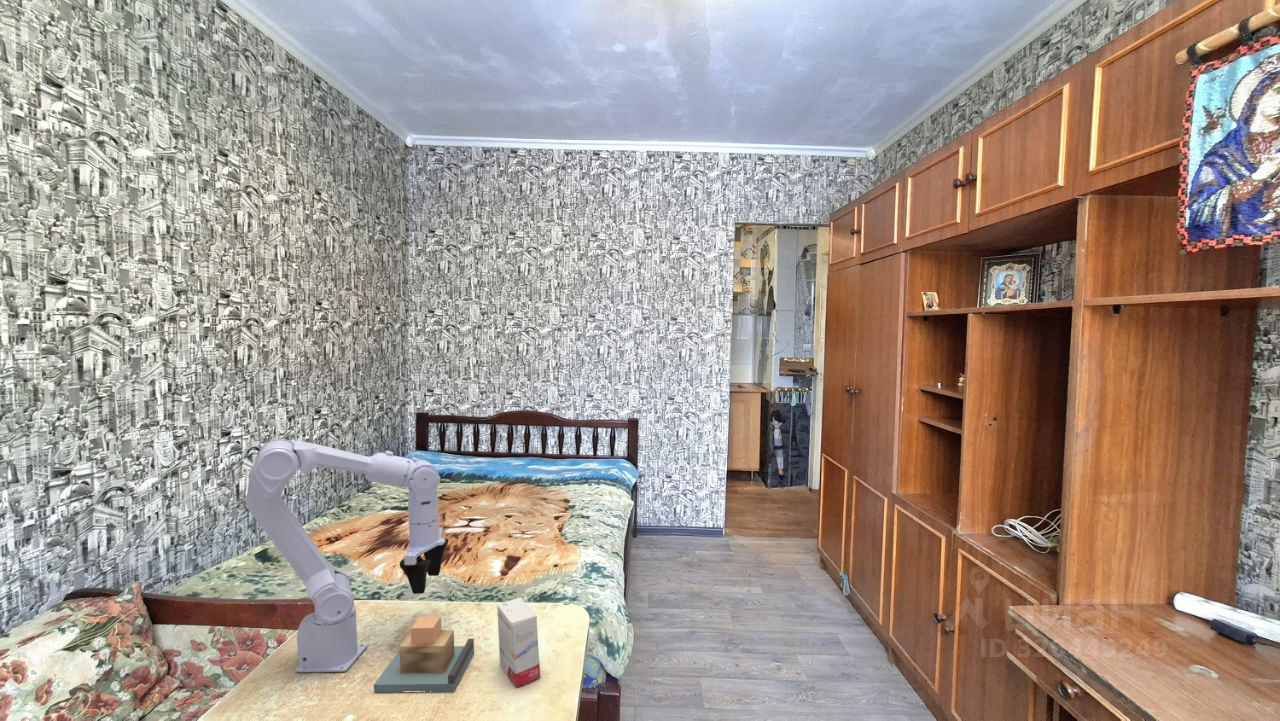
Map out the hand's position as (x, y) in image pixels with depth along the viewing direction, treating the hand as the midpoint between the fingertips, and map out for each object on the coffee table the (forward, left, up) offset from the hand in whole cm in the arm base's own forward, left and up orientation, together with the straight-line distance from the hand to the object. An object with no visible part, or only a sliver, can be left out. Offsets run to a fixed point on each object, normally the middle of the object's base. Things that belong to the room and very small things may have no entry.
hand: (426, 583), depth 110 cm
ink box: (+22, -13, -11) cm, 28 cm away
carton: (+5, -13, -4) cm, 14 cm away
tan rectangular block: (+5, -13, -9) cm, 17 cm away
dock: (+5, -13, -10) cm, 17 cm away
